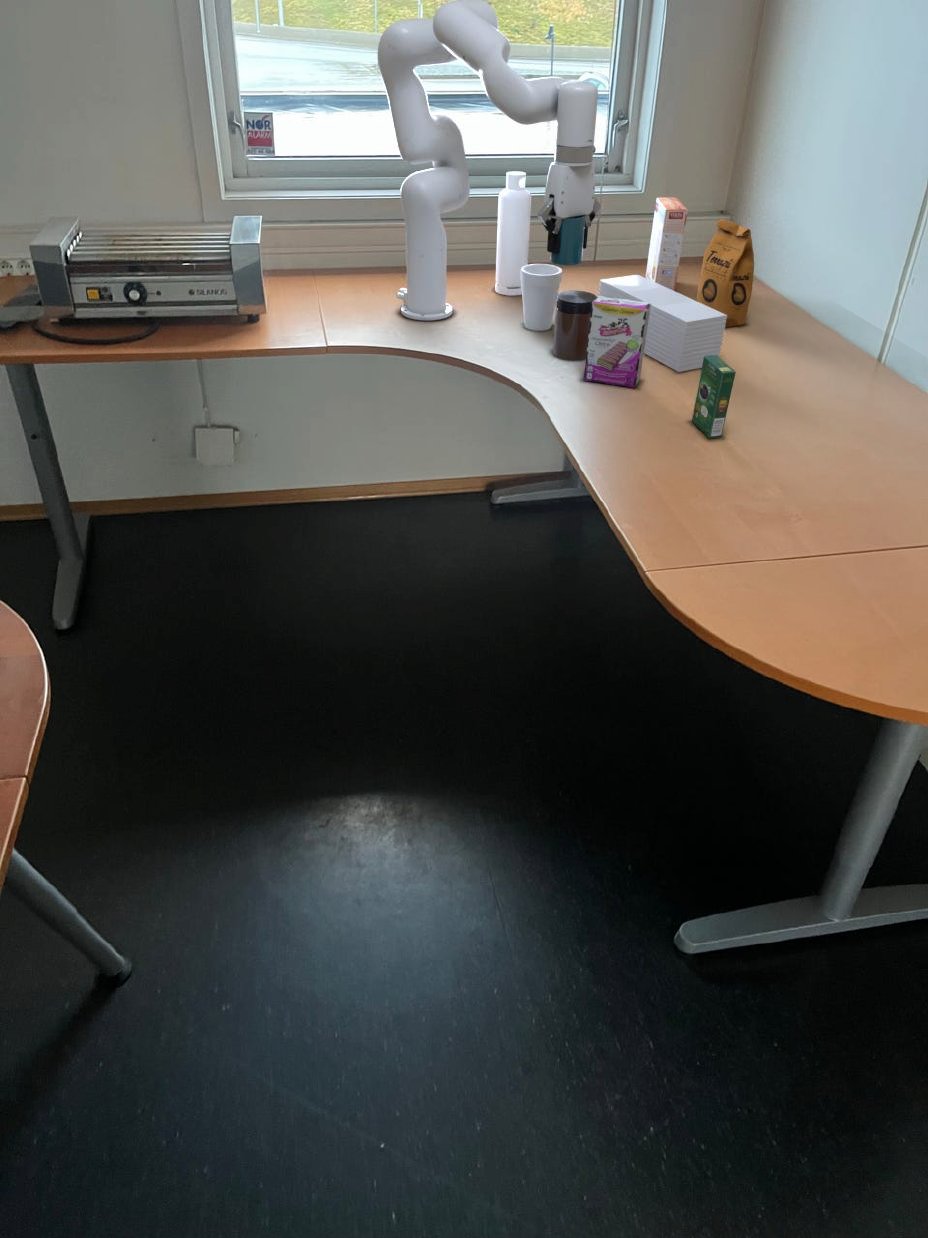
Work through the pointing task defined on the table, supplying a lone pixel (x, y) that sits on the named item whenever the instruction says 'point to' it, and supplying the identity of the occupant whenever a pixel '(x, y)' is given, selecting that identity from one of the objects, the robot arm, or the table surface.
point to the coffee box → (713, 396)
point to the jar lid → (575, 301)
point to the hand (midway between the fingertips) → (566, 249)
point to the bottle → (512, 233)
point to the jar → (571, 335)
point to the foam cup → (539, 294)
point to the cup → (570, 241)
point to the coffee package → (728, 272)
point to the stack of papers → (671, 322)
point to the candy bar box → (616, 341)
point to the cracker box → (666, 241)
